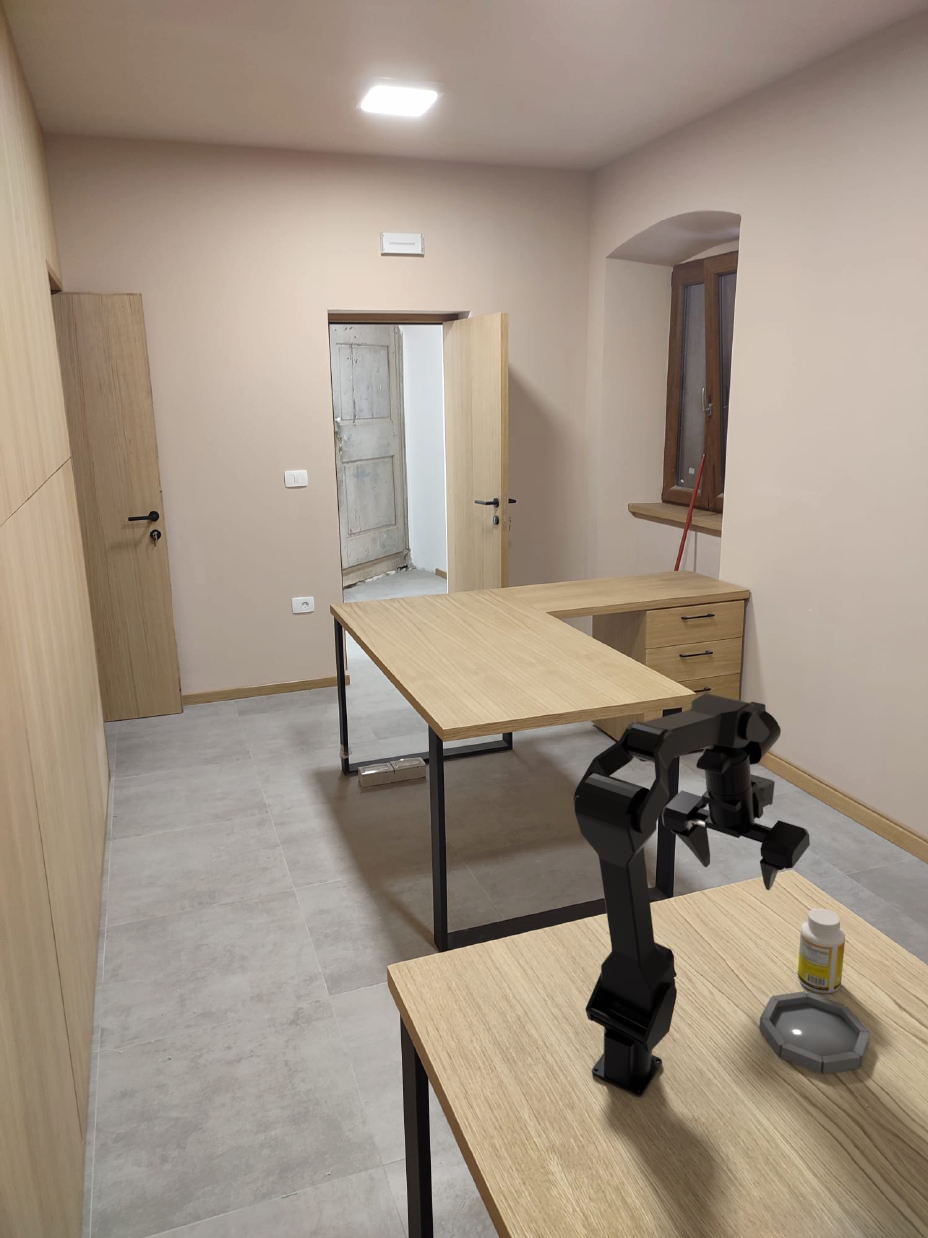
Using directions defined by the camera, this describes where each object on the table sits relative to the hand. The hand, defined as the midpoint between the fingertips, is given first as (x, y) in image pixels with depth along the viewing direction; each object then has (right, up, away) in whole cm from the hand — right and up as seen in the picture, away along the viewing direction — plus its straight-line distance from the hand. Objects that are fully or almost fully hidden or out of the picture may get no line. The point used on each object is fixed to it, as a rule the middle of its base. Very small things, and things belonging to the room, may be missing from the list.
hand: (737, 876), depth 119 cm
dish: (+6, -17, -11) cm, 21 cm away
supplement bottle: (+11, -14, -1) cm, 18 cm away
